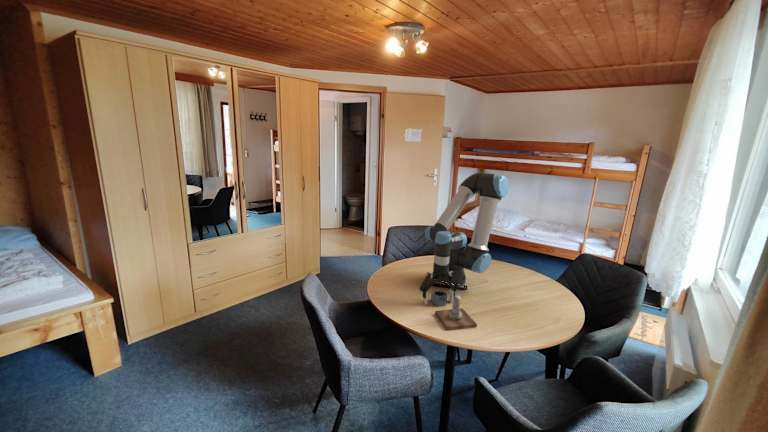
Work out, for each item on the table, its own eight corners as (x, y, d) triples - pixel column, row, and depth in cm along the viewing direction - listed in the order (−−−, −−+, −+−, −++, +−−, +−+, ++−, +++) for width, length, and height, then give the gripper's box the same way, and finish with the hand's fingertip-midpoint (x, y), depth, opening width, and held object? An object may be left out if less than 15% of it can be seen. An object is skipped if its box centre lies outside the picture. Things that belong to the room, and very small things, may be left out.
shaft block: (462, 311, 158) (464, 289, 155) (476, 327, 144) (479, 303, 142) (434, 313, 154) (436, 291, 152) (447, 330, 141) (449, 305, 139)
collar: (442, 298, 170) (443, 289, 168) (448, 305, 163) (449, 296, 161) (429, 299, 168) (429, 290, 167) (434, 306, 161) (435, 297, 160)
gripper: (461, 259, 167) (457, 297, 171) (414, 261, 161) (412, 300, 166) (468, 264, 160) (464, 304, 164) (419, 267, 154) (417, 308, 159)
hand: (438, 302), depth 165 cm, fingers open, 13 cm apart
